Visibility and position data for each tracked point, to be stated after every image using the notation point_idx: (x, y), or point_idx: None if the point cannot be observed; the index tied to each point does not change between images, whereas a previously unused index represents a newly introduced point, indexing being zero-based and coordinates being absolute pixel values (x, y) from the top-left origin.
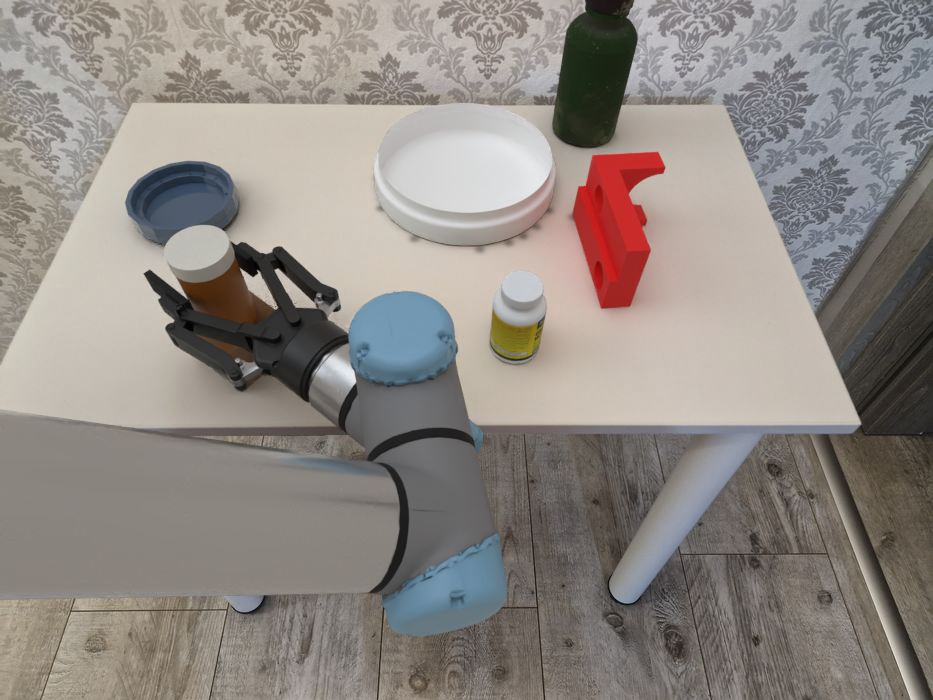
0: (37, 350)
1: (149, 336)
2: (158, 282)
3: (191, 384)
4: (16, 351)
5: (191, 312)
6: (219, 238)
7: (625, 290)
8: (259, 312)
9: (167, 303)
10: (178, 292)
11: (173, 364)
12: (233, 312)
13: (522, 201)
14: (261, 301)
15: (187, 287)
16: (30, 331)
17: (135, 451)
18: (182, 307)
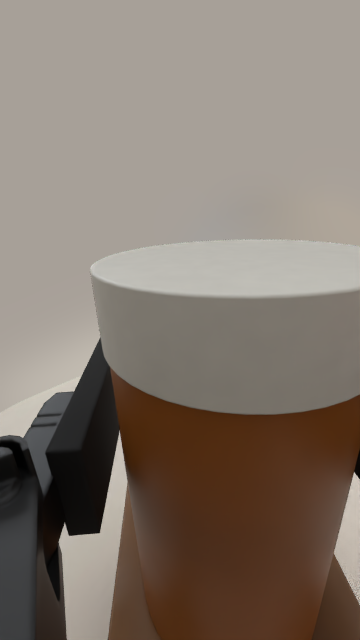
0: (43, 404)
1: (124, 462)
2: (99, 354)
3: (77, 629)
4: (34, 395)
5: (19, 519)
6: (350, 255)
7: None
8: (325, 632)
9: (53, 416)
10: (96, 400)
11: (101, 540)
12: (233, 616)
13: None
14: (343, 584)
15: (114, 395)
16: (62, 386)
17: None
18: (9, 464)
